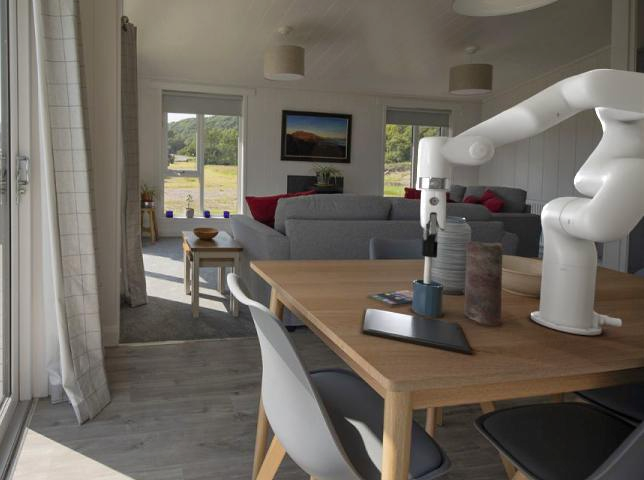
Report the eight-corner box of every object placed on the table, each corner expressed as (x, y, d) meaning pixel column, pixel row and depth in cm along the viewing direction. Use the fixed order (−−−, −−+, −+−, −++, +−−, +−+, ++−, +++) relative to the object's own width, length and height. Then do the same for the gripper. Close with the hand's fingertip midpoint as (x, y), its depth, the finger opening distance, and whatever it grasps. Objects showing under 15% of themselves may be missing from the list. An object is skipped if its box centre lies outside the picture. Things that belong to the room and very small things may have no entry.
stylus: (429, 287, 102) (433, 234, 101) (430, 289, 101) (433, 235, 100) (423, 286, 103) (426, 233, 102) (423, 288, 101) (426, 234, 101)
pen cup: (439, 311, 103) (441, 281, 103) (442, 319, 97) (444, 288, 97) (411, 306, 106) (412, 277, 106) (412, 314, 100) (414, 284, 100)
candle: (456, 316, 100) (460, 239, 99) (474, 313, 103) (479, 237, 102) (488, 328, 93) (494, 245, 92) (507, 324, 96) (512, 243, 95)
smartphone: (368, 297, 113) (368, 293, 113) (406, 292, 119) (406, 288, 119) (391, 307, 106) (391, 302, 106) (431, 301, 111) (431, 297, 111)
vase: (430, 282, 131) (433, 214, 130) (471, 291, 122) (476, 218, 121) (418, 289, 123) (421, 216, 122) (461, 298, 114) (466, 220, 113)
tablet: (457, 326, 93) (458, 323, 93) (470, 354, 79) (470, 350, 79) (366, 311, 102) (366, 307, 102) (363, 333, 88) (363, 329, 88)
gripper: (455, 186, 92) (450, 264, 93) (446, 184, 106) (442, 252, 107) (418, 185, 95) (414, 260, 96) (414, 183, 109) (410, 248, 110)
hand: (428, 255), depth 101 cm, fingers closed on stylus, 1 cm apart
